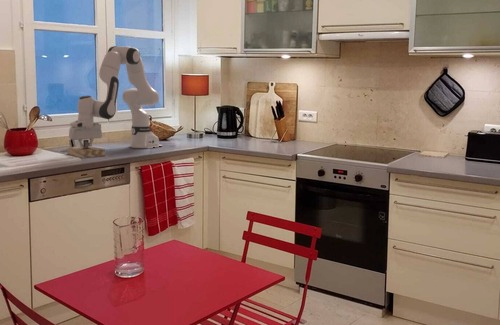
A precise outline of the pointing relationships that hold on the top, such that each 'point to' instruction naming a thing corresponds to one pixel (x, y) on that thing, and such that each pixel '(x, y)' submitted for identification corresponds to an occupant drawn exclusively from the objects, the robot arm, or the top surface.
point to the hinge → (75, 143)
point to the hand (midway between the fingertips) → (86, 146)
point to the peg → (86, 144)
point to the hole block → (86, 151)
